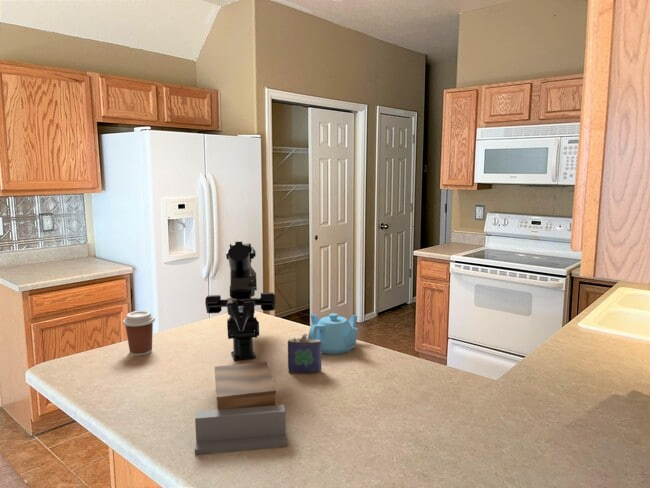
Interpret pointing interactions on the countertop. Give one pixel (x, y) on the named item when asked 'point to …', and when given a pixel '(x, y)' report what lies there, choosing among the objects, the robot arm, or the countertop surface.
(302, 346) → the flask
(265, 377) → the recipe box
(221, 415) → the gray flanged bar
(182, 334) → the countertop surface
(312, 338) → the teapot
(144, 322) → the coffee cup
